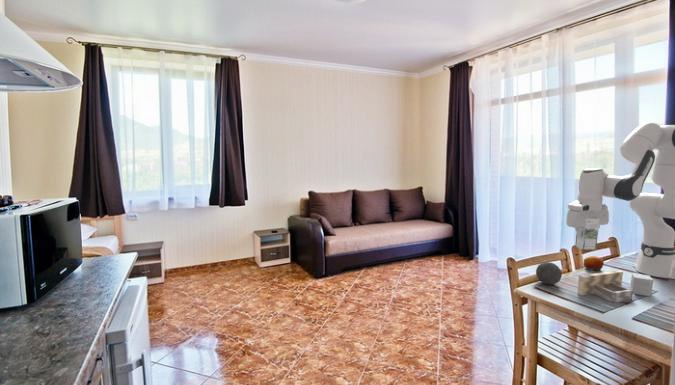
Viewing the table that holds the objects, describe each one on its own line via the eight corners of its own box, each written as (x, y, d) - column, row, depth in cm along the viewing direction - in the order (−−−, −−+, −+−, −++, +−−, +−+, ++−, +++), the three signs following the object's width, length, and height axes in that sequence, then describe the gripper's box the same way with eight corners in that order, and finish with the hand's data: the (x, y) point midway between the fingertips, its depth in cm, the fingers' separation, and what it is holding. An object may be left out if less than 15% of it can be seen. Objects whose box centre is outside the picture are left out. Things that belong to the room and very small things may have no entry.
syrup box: (588, 246, 156) (591, 215, 154) (596, 250, 150) (599, 218, 148) (574, 246, 156) (577, 215, 154) (582, 250, 151) (585, 218, 149)
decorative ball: (533, 278, 163) (534, 258, 162) (557, 280, 160) (559, 260, 158) (537, 286, 154) (539, 265, 152) (563, 289, 150) (565, 267, 149)
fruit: (591, 270, 169) (587, 254, 172) (583, 273, 176) (579, 257, 179) (609, 271, 167) (605, 255, 171) (600, 274, 175) (596, 258, 178)
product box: (648, 291, 147) (650, 275, 146) (651, 297, 142) (653, 280, 141) (629, 288, 151) (631, 272, 150) (632, 293, 146) (634, 277, 145)
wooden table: (616, 287, 152) (618, 270, 151) (642, 297, 142) (645, 279, 140) (577, 293, 146) (578, 275, 145) (602, 304, 136) (604, 285, 135)
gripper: (600, 202, 156) (597, 232, 158) (564, 205, 151) (562, 235, 153) (614, 204, 150) (611, 235, 152) (578, 207, 145) (575, 239, 147)
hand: (586, 235), depth 152 cm, fingers closed on syrup box, 7 cm apart
